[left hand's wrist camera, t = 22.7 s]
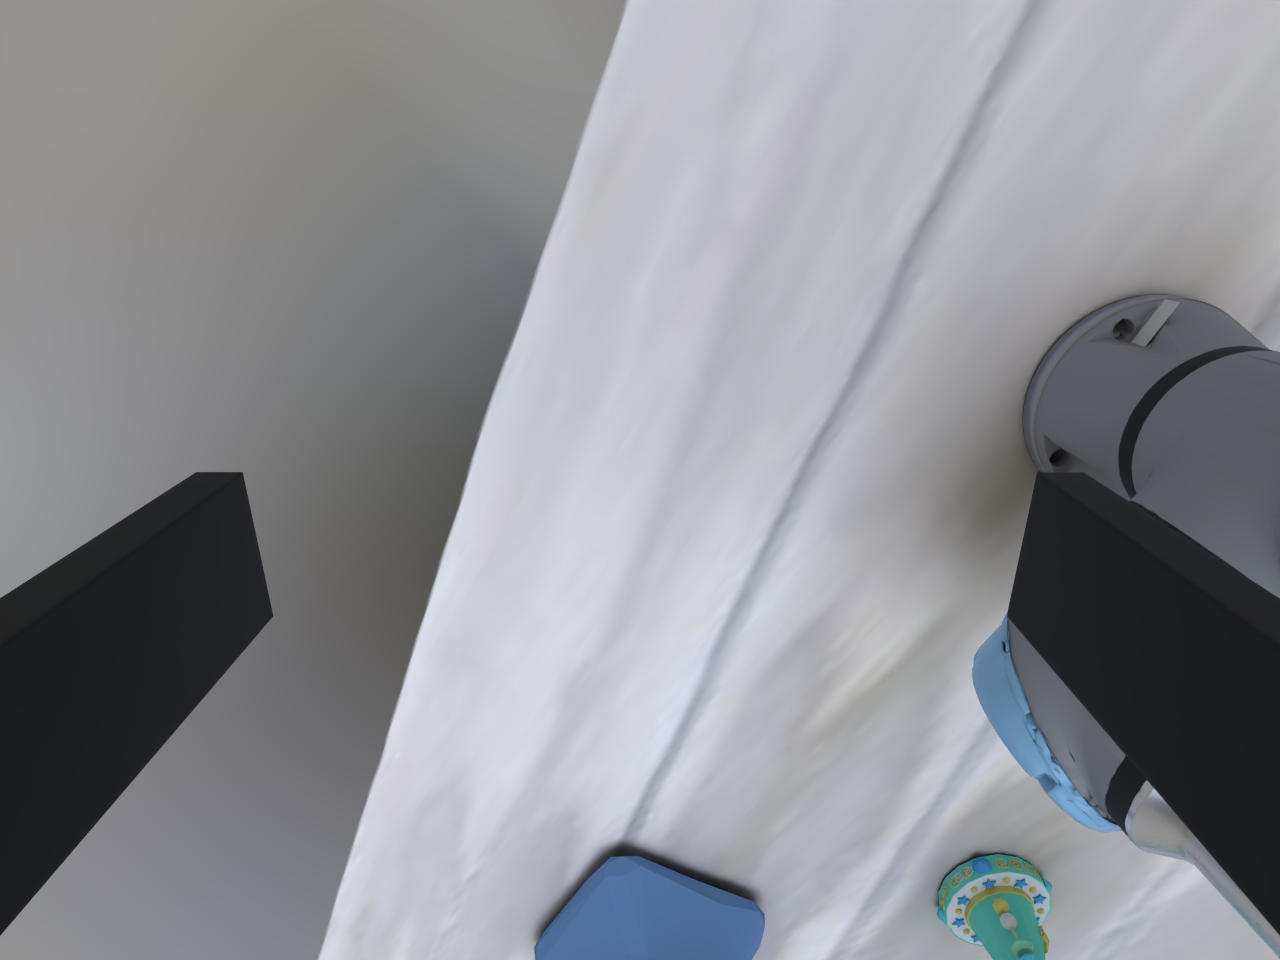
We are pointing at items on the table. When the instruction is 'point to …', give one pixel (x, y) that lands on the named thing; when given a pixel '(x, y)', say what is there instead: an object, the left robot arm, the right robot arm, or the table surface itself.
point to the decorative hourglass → (998, 906)
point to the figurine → (651, 918)
